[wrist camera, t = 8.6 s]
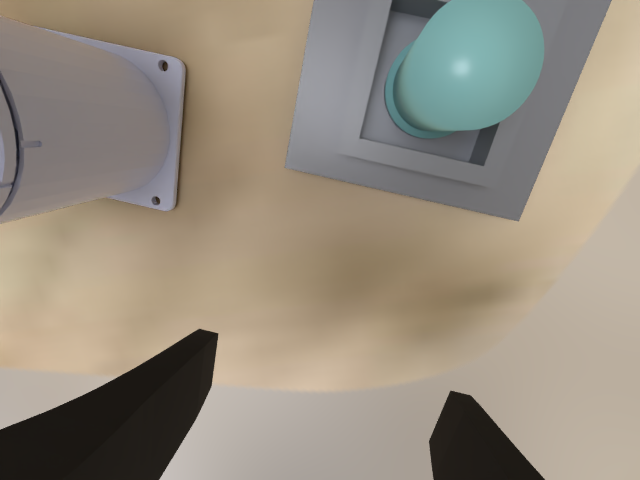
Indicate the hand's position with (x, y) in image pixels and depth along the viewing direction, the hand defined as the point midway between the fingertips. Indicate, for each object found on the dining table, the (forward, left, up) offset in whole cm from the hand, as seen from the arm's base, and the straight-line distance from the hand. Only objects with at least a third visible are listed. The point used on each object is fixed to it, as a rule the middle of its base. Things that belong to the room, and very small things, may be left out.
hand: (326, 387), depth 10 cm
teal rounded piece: (+2, +10, -9) cm, 13 cm away
